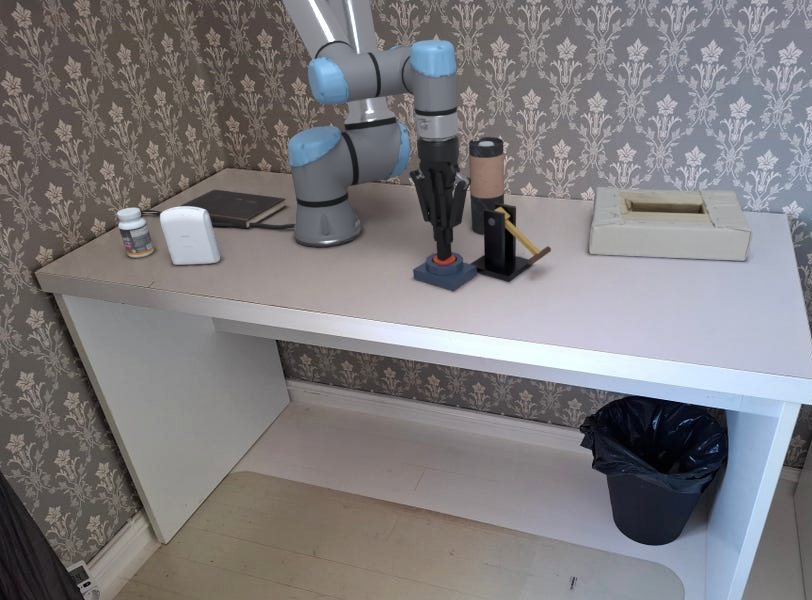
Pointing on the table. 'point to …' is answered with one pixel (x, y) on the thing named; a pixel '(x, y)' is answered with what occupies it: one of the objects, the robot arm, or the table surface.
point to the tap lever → (524, 239)
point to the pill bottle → (134, 233)
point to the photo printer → (189, 235)
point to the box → (669, 224)
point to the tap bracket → (500, 246)
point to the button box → (445, 272)
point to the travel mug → (485, 178)
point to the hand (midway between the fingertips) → (444, 257)
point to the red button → (446, 261)
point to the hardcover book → (237, 207)
